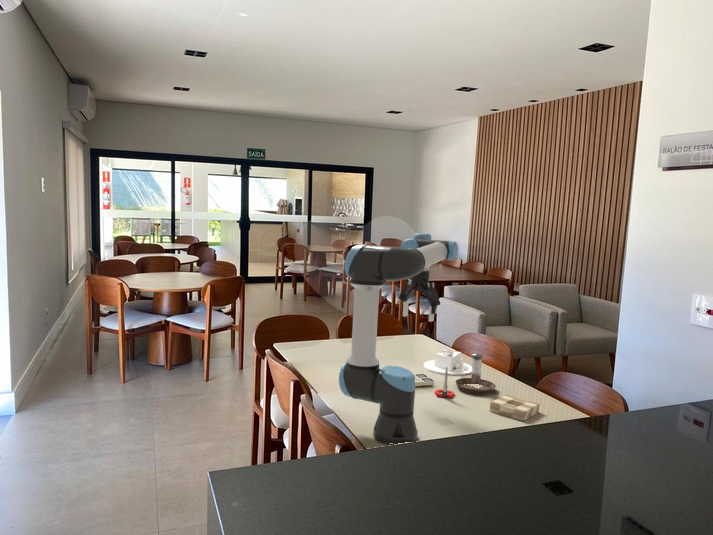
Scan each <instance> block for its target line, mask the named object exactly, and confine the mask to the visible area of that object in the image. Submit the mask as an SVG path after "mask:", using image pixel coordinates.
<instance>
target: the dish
mask: <svg viewBox="0 0 713 535" xmlns="http://www.w3.org/2000/svg"><path fill="white" fill-rule="evenodd" d="M439 349H440V350H441V352H435V353H434V359H432V360H427V361H425V362H424V363H423V367H424V369H425V370H426V371H428V372H430V373H434V374H437V375H443V376H445V372H446V367H448V370H447V372H448V376H451V375H462V376H466V375H465V374H469V375H471V374H472V364H471V365H470V364H468V363H465V362H464V361H462V359H461V358H462V352H461V351H456V352H455V351H451V350H449V349H445V347H443V346H442V345H439ZM467 368H468V370H467ZM464 370H467V371H464ZM470 373H471V374H470Z"/></svg>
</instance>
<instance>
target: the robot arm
mask: <svg viewBox="0 0 713 535" xmlns="http://www.w3.org/2000/svg"><path fill="white" fill-rule="evenodd" d="M458 254H459V245H458V243H457V242H456V241H453V240H437V239H432V235H431V234H430V233H421V232H420V233H419V232H418V233H414V235H413V237H412V238H411V237H410V238H407V239H405V240H404V241H402V242H401V245H400V247H394V246H381V245H373V244H372V245H370V244H357V245H354V246H352V247H351V248H350V250H349V251H348V253H347V254H346V256H345V257H346V258H345V261H344V272H345V275H346V276H347V277H348V278H350V285H351V286H352V288H354V296H353V314H352V331H351V351H350V352H351V353H350V356H349V357H348V358H347V359H346V362H345V363H344V364H343V365H342V366H340V367H341V368H340V371H339V373H338V385H339V389H340V391H341V393H343V395H344V396H346V397H348V398H352V399H353V400H362V401H365V402H369V403H373V404H378V405H379V413H378V415H377V418H376V421H375V424H374V426H373V431H372V432H373V433H372V435H373V438H374V439H375V440H376V439H377V440H376V441H378V442H380V443H382V442H383V444H385V443H387V444H386V445H389V446H390V444H389V443H393V444H398V443H405V442H413V441H415V442H417V440H418V434H419V432H418V429H417V425H416V421H415V416H414V414H415V412H414V411H415V410H414V409H415V398H416V388H417V387H416V377H415V374H414V373H413V372H412V371H411V370H409V369H407V368H405V367H402V366H397V365H385V366H382V367H381V368H380V360H378V358H377V357H376V353H377V352H376V351H377V335H378V321H379V320H378V318H379V305H380V304H379V303H380V302H379V300H380V289H382V288H383V287H384V286H385V282H399V281H402V280H403V281H404V280H405V281H404V286H403V287H402V290H401V292H400V293H399V295H398V300H401V303H402V304H401V308H402V317H408V316H409V299H410V297H411V296H413V294H414V292H421V293H422V294H424V295H425V298H426V299H427V301H428V302H429V304H430V306H429V308H428V309H429V310H428V322H429V323H430V322H434V320H435V319H434V318H435V314H436V312H437V310H436V309H437V306H440V305H441V301H440V298H439V295H438V292H437V290H436V283H435V282H429V279H430V267H431V266H433V265H435V264H437V263H439V262H442V261H455V260H456V259H457V258H458Z"/></svg>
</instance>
